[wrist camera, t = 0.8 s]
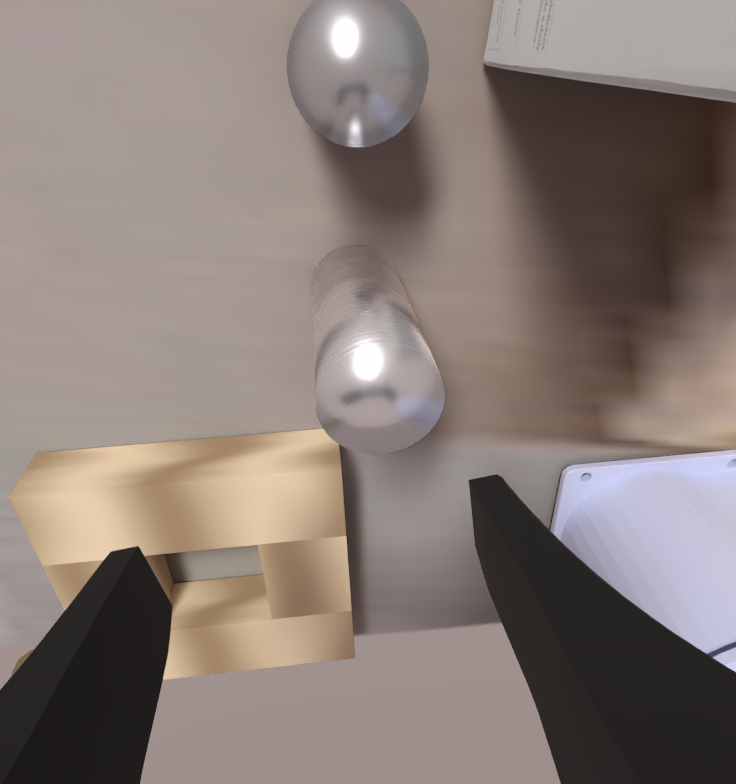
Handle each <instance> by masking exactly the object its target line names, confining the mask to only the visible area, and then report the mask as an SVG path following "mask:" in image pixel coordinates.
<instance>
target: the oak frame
mask: <svg viewBox="0 0 736 784" xmlns="http://www.w3.org/2000/svg"><path fill="white" fill-rule="evenodd" d="M9 500H10V502H11V504H12V506H13V508H14V510H15V512H16V514H17V516H18V518H19V520H20V522H21V524H22V526H23V528H24V530H25V532H26V534H27V536H28V538H29V540H30V542H31V544H32V546H33V548H34V550H35V552H36V554H37V556H38V558H39V560H40V562H41V564H42V566H43V568H44V570H45V572H46V574H47V576H48V578H49V580H50V582H51V584H52V586H53V588H54V590H55V592H56V594H57V596H58V598H59V600H60V602H61V604H62V606H63V608H64V610H66V609H67V608H68V606H69V605H70V604H71V602H72V601H73V600H74V598H75V597H76V596H77V594H78V593H79V592H80V591H81V589H82V588H83V587H84V585H85V584H86V583H87V581H88V580H89V579H90V577H91V576H92V575H93V573H94V572H95V571H96V570H97V568H98V567H99V566H100V564H101V563H102V562H103V561H104V559H105V558H106V557H107V556H108V554H109V553H110V552H111V551H116V550H121V549H126V548H131V547H136V546H139V548H140V549H141V551H142V553H143V555H144V556H145V558H146V560H147V562H148V563H149V565H150V567H151V569H152V570H153V572H154V574H155V576H156V577H157V579H158V581H159V583H160V585H161V586H162V588H163V590H164V592H165V593H166V595H167V597H168V599H169V600H170V602H171V604H172V606H173V608H172V620H171V633H170V642H169V651H168V657H167V662H166V667H165V671H164V676H163V680H166V679H175V678H183V677H192V676H201V675H209V674H218V673H227V672H236V671H244V670H253V669H262V668H270V667H279V666H288V665H297V664H306V663H313V662H323V661H332V660H340V659H348V658H355V651H354V636H353V622H352V608H351V594H350V580H349V566H348V553H347V539H346V525H345V511H344V497H343V483H342V469H341V459H340V449H339V444H338V443H337V442H335V441H334V440H333V439H332V438H331V437H330V436H329V435H328V434H327V433H326V432H325V430H324V429H313V430H302V431H290V432H278V433H267V434H255V435H243V436H231V437H220V438H208V439H196V440H185V441H173V442H161V443H149V444H138V445H126V446H114V447H103V448H91V449H79V450H67V451H56V452H44V453H37V454H36V455H35V457H34V458H33V460H32V462H31V463H30V465H29V466H28V468H27V470H26V471H25V473H24V474H23V476H22V477H21V479H20V481H19V482H18V484H17V485H16V487H15V489H14V490H13V492H12V493H11V495H10V497H9ZM249 545H258V550H259V555H260V560H261V565H262V570H263V574H262V575H252V576H242V577H233V578H223V579H213V580H204V581H194V582H184V583H174V582H173V579H172V576H171V573H170V570H169V567H168V563H167V560H166V557H165V554H169V553H179V552H189V551H199V550H209V549H219V548H229V547H239V546H249Z"/></svg>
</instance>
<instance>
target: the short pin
mask: <svg viewBox="0 0 736 784" xmlns="http://www.w3.org/2000/svg"><path fill="white" fill-rule="evenodd" d="M428 70H429V64H428V52H427V46H426V42H425V39H424V35H423V33H422V30H421V28H420V26H419V24H418V22H417V20H416V19H415V17H414V15H413V14H412V13H411V11H410V10H409V9H408V8H407V7H406V6H405V5H404V3H403V2H402V1H400V0H315V1H314V2H313V3H311V4H310V6H309V7H308V8H307V9H306V10H305V11H304V13H303V14H302V16H301V17H300V19H299V20H298V22H297V24H296V27H295V29H294V31H293V34H292V37H291V40H290V44H289V49H288V56H287V75H288V82H289V87H290V90H291V94H292V97H293V99H294V102H295V104H296V106H297V108H298V110H299V112H300V113H301V115H302V116H303V118H304V119H305V120H306V122H307V123H308V124H309V125H310V126H311V127H312V128H313V129H314V130H315V131H316V132H317V133H319V134H320V135H321V136H323V137H324V138H326V139H328V140H330V141H332V142H334V143H337V144H340V145H343V146H348V147H369V146H373V145H377V144H380V143H382V142H384V141H387V140H388V139H390V138H392V137H393V136H395V135H396V134H397V133H399V132H400V131H401V130H402V129H403V128H404V127H405V126H406V125H407V124H408V123H409V122H410V120H411V119H412V118H413V116H414V115H415V113H416V112H417V110H418V108H419V106H420V104H421V101H422V99H423V96H424V93H425V90H426V85H427V80H428Z"/></svg>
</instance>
